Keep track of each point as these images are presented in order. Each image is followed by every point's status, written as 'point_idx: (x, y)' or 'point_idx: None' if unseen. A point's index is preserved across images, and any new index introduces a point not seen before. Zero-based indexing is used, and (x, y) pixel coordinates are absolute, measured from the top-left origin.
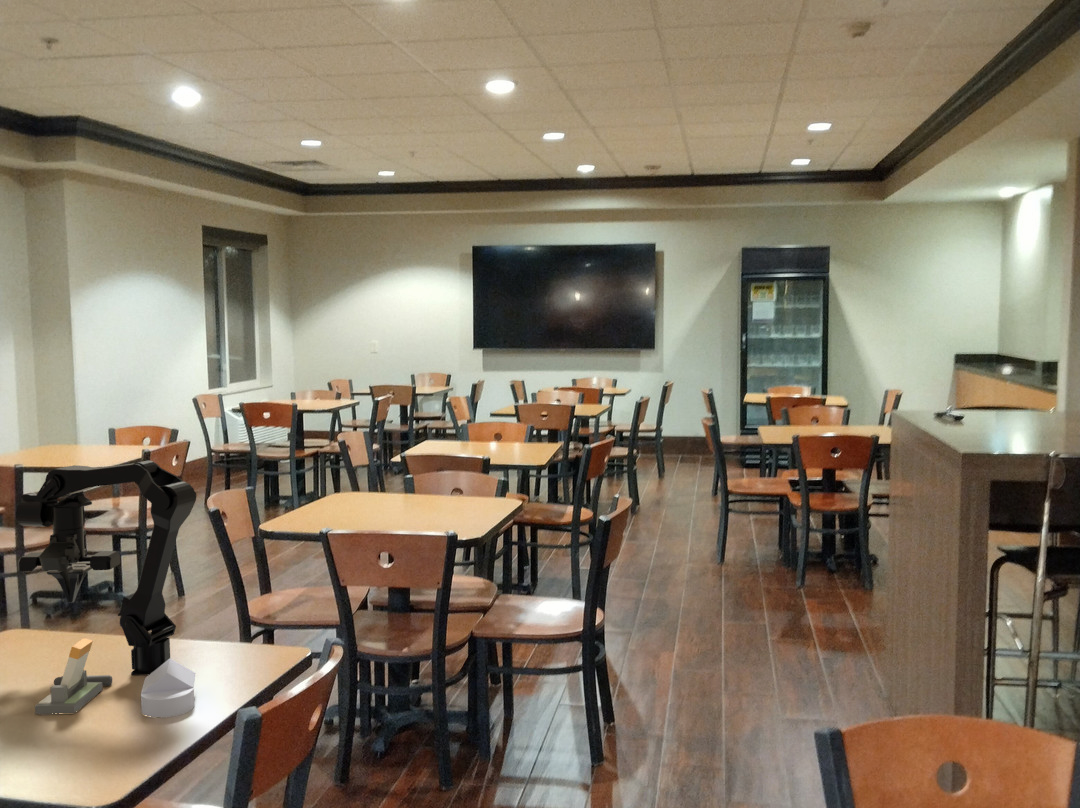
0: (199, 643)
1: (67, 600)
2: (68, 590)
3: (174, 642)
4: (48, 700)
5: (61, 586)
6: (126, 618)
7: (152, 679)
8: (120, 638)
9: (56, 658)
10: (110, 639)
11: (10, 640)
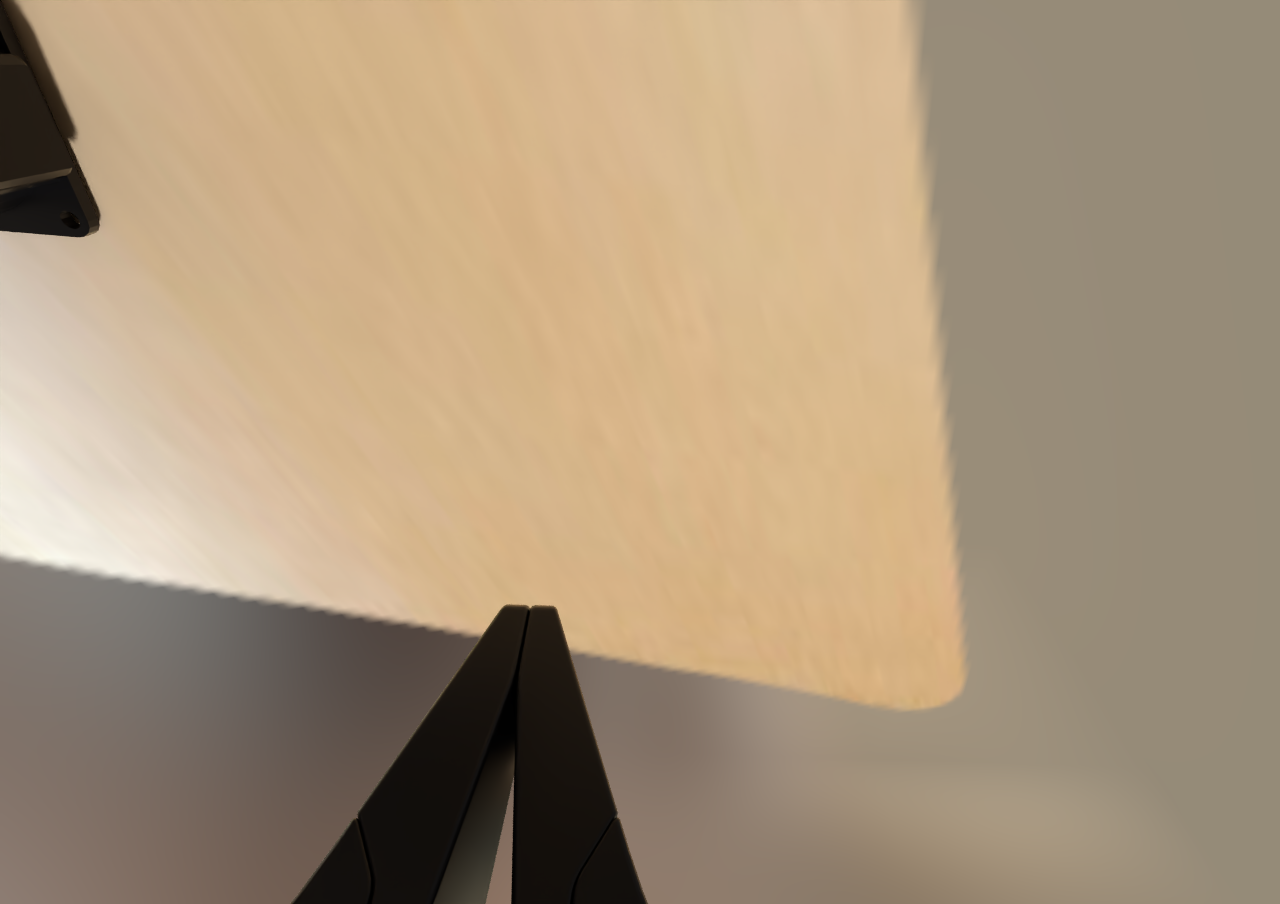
0: (91, 546)
1: (558, 625)
2: (515, 772)
3: (233, 566)
4: None
5: (617, 854)
6: None
7: None
8: None
9: (710, 419)
10: None
11: (954, 633)
